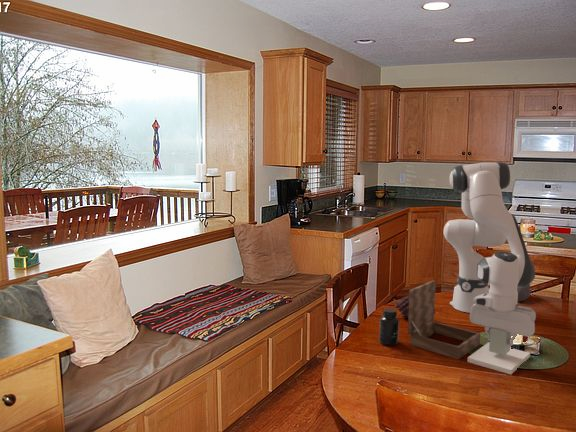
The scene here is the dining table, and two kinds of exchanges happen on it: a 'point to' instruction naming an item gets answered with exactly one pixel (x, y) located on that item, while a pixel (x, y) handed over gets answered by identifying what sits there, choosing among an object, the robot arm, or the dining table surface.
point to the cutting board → (499, 359)
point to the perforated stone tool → (523, 292)
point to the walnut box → (435, 325)
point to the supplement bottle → (389, 327)
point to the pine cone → (404, 306)
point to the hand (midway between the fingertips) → (500, 342)
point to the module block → (499, 341)
